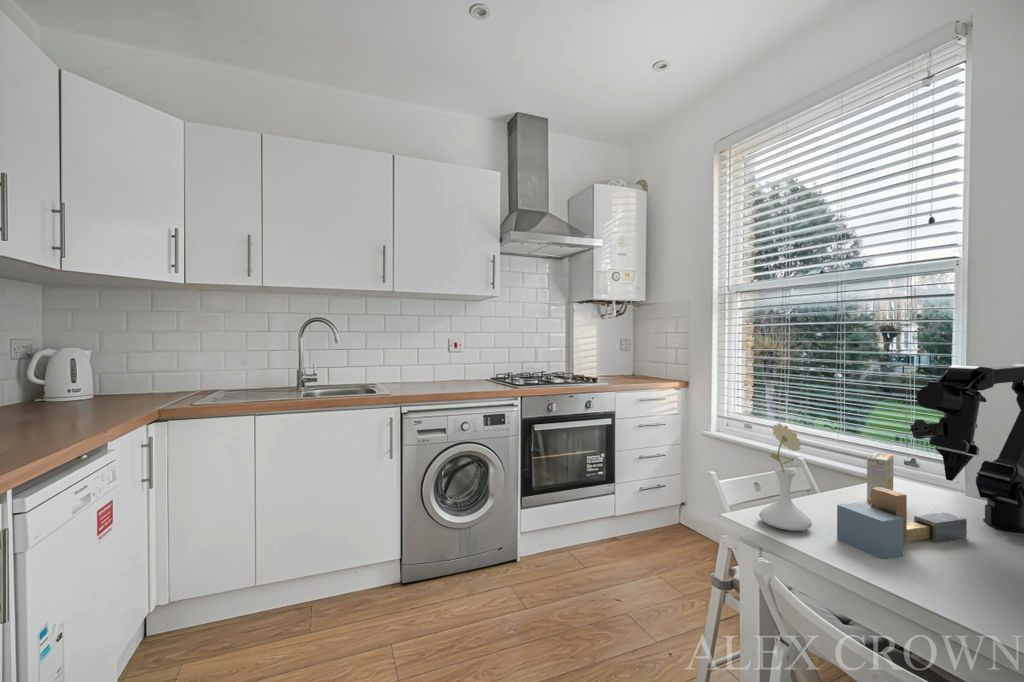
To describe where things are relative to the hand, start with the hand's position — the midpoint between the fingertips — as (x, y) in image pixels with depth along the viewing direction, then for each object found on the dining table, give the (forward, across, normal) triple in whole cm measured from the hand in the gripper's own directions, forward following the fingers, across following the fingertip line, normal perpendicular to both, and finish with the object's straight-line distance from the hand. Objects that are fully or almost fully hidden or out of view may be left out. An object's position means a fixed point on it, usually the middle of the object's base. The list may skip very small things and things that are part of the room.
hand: (949, 480), depth 110 cm
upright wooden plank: (+15, +14, -4) cm, 21 cm away
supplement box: (+11, -17, -16) cm, 26 cm away
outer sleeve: (+13, +2, +1) cm, 14 cm away
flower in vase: (+20, +24, -24) cm, 40 cm away
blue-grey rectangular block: (+18, +22, -8) cm, 30 cm away
